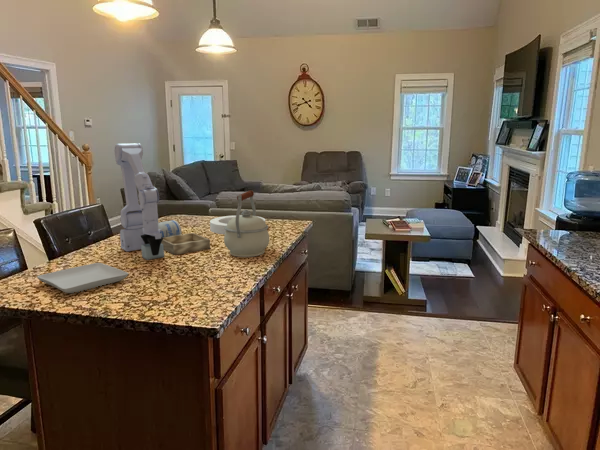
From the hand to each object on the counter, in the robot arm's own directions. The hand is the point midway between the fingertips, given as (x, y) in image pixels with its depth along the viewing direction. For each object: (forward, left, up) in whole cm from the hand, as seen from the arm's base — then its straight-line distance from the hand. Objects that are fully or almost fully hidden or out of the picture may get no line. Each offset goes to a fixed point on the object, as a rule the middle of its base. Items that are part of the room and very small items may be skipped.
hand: (152, 253), depth 176 cm
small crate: (0, 0, -1) cm, 1 cm away
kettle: (+34, -17, -2) cm, 38 cm away
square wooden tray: (+16, +6, -2) cm, 17 cm away
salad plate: (-29, -15, -2) cm, 33 cm away
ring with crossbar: (+54, +25, -2) cm, 60 cm away
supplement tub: (+19, +21, +3) cm, 29 cm away
